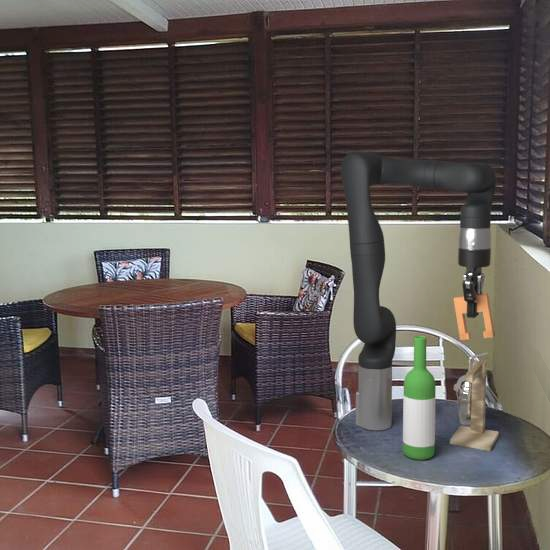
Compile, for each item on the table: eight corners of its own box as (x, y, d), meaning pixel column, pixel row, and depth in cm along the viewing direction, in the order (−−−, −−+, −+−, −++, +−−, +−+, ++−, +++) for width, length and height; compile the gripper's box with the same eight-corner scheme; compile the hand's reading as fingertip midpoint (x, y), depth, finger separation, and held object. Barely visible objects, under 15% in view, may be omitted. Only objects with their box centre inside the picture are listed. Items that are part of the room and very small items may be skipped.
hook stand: (447, 448, 169) (448, 371, 166) (460, 429, 181) (462, 358, 178) (487, 455, 164) (490, 377, 161) (498, 435, 176) (500, 362, 174)
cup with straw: (452, 416, 191) (454, 348, 188) (485, 418, 189) (487, 350, 186) (452, 427, 183) (454, 356, 180) (486, 429, 181) (489, 358, 178)
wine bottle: (396, 451, 167) (397, 335, 163) (421, 446, 170) (423, 332, 166) (415, 463, 160) (416, 342, 156) (441, 457, 163) (443, 338, 159)
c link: (460, 339, 165) (453, 298, 164) (462, 338, 166) (455, 297, 166) (493, 337, 161) (486, 294, 160) (494, 335, 162) (488, 293, 162)
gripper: (465, 243, 169) (463, 310, 171) (451, 248, 157) (450, 320, 159) (496, 244, 165) (493, 312, 168) (484, 249, 153) (482, 323, 156)
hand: (472, 316), depth 163 cm, fingers closed on c link, 2 cm apart
